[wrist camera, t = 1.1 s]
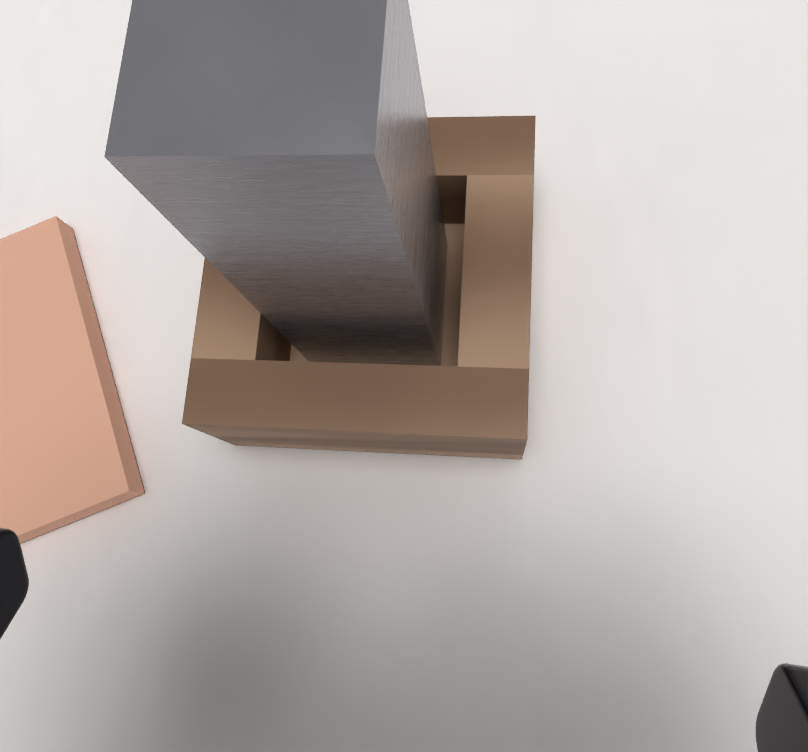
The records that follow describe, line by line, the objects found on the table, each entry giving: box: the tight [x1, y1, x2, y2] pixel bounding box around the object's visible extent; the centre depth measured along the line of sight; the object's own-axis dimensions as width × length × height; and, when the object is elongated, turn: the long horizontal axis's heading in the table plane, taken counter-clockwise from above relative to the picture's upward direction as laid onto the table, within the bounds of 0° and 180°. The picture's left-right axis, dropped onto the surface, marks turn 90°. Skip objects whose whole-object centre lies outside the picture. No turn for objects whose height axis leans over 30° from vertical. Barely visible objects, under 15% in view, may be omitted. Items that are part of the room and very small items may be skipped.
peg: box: [105, 0, 448, 366], centre depth 16 cm, size 4×4×12 cm
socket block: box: [182, 116, 535, 459], centre depth 21 cm, size 9×9×4 cm
